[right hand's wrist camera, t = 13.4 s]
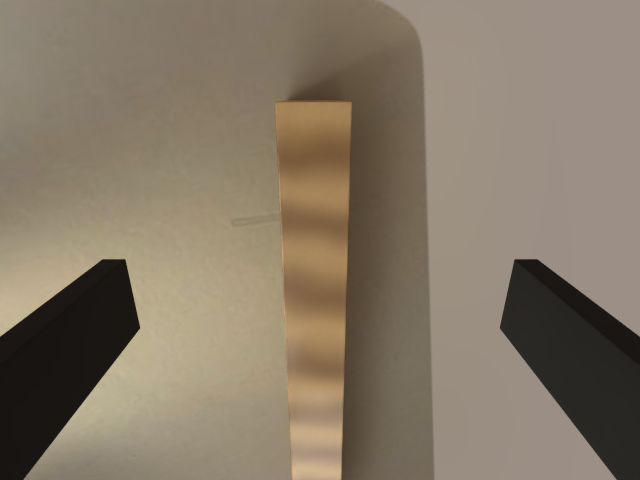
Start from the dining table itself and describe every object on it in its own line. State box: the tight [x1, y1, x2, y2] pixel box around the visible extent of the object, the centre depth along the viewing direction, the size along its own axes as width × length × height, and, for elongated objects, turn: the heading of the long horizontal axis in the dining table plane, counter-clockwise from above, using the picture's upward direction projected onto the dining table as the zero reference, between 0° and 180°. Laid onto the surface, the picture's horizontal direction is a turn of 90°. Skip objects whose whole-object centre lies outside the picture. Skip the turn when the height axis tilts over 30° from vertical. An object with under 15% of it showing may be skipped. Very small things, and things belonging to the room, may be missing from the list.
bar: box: [275, 100, 352, 480], centre depth 36 cm, size 51×5×8 cm, turn 0°
